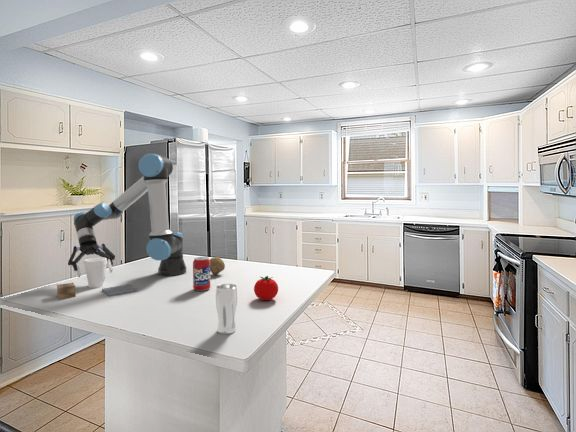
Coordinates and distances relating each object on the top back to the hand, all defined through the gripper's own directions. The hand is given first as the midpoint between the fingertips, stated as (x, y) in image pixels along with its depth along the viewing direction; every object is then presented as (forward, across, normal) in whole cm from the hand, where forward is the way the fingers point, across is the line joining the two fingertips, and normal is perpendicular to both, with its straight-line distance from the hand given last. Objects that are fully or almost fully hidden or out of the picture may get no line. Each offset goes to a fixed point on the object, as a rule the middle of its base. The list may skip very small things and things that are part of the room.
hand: (95, 273), depth 160 cm
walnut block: (+10, +14, +1) cm, 17 cm away
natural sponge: (+18, -55, +9) cm, 58 cm away
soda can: (+31, -35, +22) cm, 52 cm away
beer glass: (+65, -18, +56) cm, 87 cm away
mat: (+15, -6, +6) cm, 17 cm away
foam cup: (+4, 0, -5) cm, 7 cm away
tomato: (+54, -48, +44) cm, 85 cm away
